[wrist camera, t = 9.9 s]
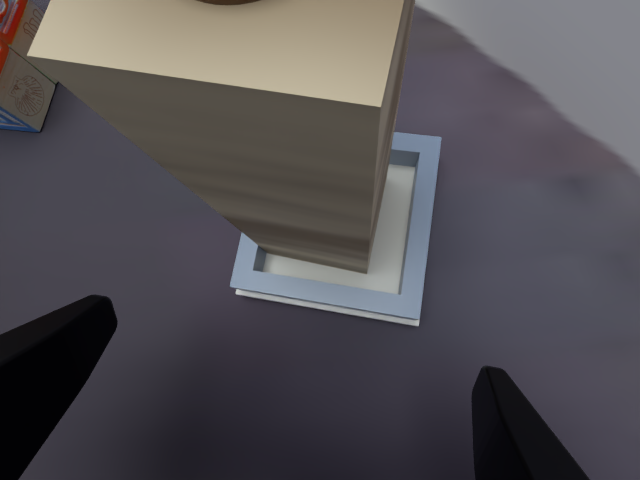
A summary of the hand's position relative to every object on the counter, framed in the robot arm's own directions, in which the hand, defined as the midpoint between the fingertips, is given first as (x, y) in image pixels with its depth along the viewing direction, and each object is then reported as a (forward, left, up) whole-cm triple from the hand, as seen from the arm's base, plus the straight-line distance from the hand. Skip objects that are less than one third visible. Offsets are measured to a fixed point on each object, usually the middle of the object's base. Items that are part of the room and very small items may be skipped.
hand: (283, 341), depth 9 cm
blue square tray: (+5, -2, -8) cm, 10 cm away
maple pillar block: (+5, -2, -7) cm, 9 cm away
